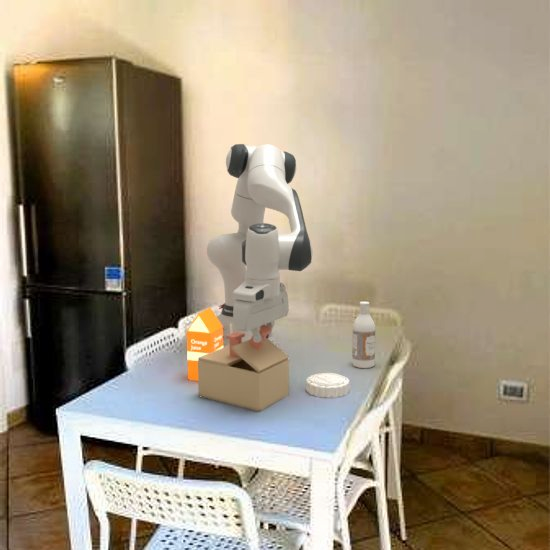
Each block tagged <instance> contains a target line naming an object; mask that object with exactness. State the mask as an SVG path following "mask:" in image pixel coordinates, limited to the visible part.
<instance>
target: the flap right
mask: <svg viewBox="0 0 550 550" xmlns="http://www.w3.org/2000/svg"><path fill="white" fill-rule="evenodd" d="M271 331H272V332H273V329H272V330H271V329H270V328H269V327H267V326H266V324H264V325H262V326H260V330H259V332H260V336H262V341H261V342H259V343H256V342H254V340H253V336H252V338H251V339H250V340H248V341H245V342H242V343H240V344H237V345H235V346H232V348H231V349H232V350H233V351H234V352H235V353H236V354H238V355H239V356H240V357H241V358H242V359H243V360H244V361H246V362H247V363H248V364H249V365H250V366H251V367H253V368H254V369H255V370H256V371H257V372H258V373H259V372H261V371H263V370H266V369H268V368H270V367H272V366H274V365H276V364H278V363H280V362H282V361H284V360H286V359H289V357H290V356H289V355H288V354H287V353H285V352H284V350H281V348H279V347H278V346H277V345H275V344H274V343H273V342H272V341H271V340H270V339H269V338H268V339H266V336H267V334H269V333H271Z"/></svg>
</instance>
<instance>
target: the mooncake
mask: <svg viewBox="0 0 550 550" xmlns="http://www.w3.org/2000/svg"><path fill="white" fill-rule="evenodd" d="M350 382H351V381H350V379H349V378H348V377H347V376H344V375H341V374H338V373H334V372H324V373H321V372H320V373H316V374H311V375H310V376H308V377H307V378H306V380H305V390H306V393H309V395H311V396H314V397H319V398H326V399H330V398H333V399H334V398H340V397H343V396H346V395H347V394H349V393H350V391H351V390H350V389H351V387H350V385H351V383H350Z"/></svg>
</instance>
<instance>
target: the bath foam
mask: <svg viewBox="0 0 550 550" xmlns="http://www.w3.org/2000/svg"><path fill="white" fill-rule="evenodd" d="M351 341H352V346H351V347H352V348H351V349H352V351H351V353H352V354H351V356H352V359H351V364H352V366H353V367H355V368H359V369H370V368H372V367H374V366H375V362H376V324H375V322H374V320H373V318H372V317H371V315H370V302H369V301H359V314H358V315H357V317H356V318H355V320H354V322H353V325H352V340H351Z"/></svg>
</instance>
